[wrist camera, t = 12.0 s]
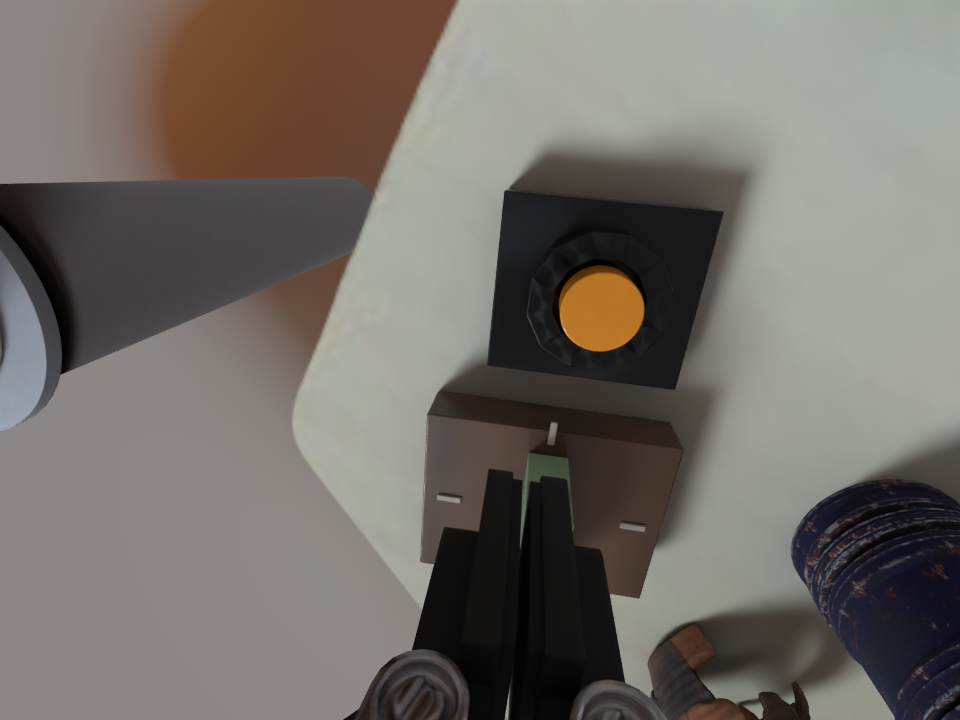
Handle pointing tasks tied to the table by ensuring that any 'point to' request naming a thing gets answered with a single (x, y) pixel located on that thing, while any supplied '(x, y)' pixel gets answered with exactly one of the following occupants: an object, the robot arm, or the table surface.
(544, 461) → the pale green flat block
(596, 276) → the button
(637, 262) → the button block
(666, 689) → the pottery mug
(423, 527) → the base
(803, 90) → the table surface
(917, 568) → the storage jar
